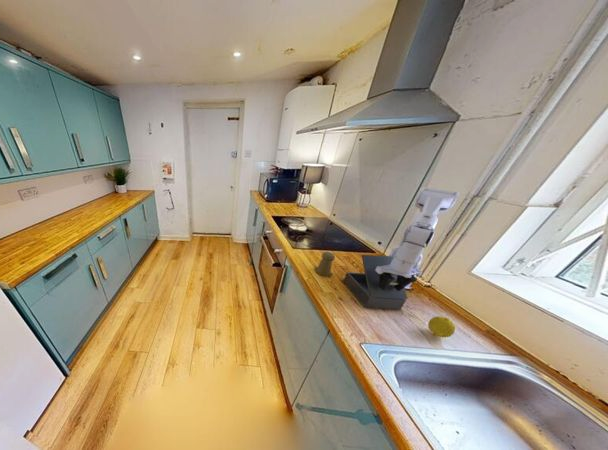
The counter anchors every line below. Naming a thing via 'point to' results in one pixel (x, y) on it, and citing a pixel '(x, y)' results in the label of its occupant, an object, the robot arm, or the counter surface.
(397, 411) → the counter surface
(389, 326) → the counter surface
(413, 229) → the robot arm
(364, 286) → the grey hinged box
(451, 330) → the lemon
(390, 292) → the lid
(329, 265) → the dark chess pawn
